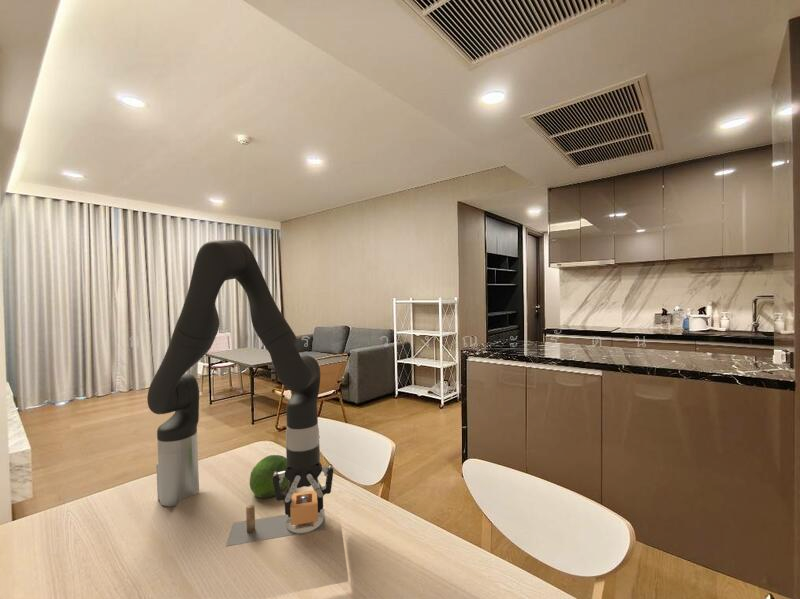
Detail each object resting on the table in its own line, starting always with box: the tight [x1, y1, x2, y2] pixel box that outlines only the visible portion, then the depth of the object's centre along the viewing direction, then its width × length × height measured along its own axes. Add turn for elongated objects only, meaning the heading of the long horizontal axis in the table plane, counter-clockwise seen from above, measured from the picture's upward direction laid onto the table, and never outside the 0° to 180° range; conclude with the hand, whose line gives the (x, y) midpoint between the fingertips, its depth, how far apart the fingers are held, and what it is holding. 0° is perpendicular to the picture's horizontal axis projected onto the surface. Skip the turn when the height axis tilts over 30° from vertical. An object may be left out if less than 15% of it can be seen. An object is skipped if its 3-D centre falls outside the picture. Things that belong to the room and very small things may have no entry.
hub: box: [286, 495, 325, 535], centre depth 87 cm, size 9×9×6 cm
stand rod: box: [245, 504, 256, 533], centre depth 84 cm, size 2×2×6 cm
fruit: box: [249, 454, 289, 499], centre depth 103 cm, size 15×10×10 cm, turn 175°
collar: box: [290, 490, 318, 525], centre depth 87 cm, size 6×6×4 cm
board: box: [225, 508, 326, 547], centre depth 86 cm, size 21×8×2 cm, turn 104°
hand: (304, 512), depth 87 cm, fingers closed on collar, 6 cm apart
